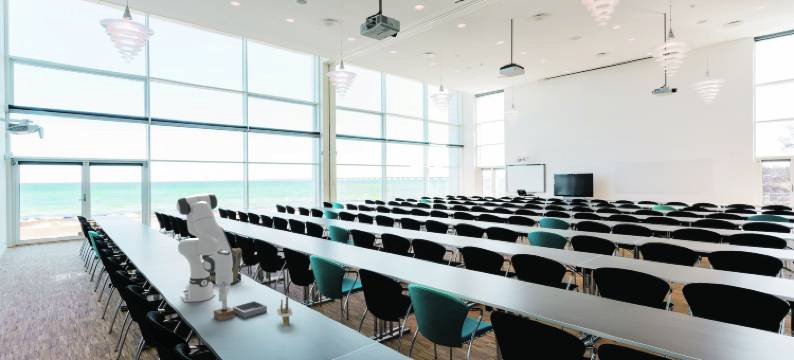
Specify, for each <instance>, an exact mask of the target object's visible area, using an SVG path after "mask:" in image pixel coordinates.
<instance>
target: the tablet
mask: <svg viewBox="0 0 794 360" xmlns="http://www.w3.org/2000/svg"><path fill="white" fill-rule="evenodd" d="M221 250H222V249H221ZM232 250H233V251H234V253H235V254H236V256H237V263H236V265H235V267H234V268H232V272H233V282H232V283H230V285H231V284H232V285H233V284H236V283H238V281H240V282H241V281H242V273H239V267H240V265H241V260H242V256H243V255H242V254H243V251H242V248H241V247H237V248H232ZM213 255H214V254H213ZM208 256H211V255H201V258H202V259H203V260H205V258H206V257H208ZM210 276H211V281H210V282H212V283H216V272H210Z"/></svg>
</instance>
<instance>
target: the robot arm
mask: <svg viewBox="0 0 794 360" xmlns="http://www.w3.org/2000/svg"><path fill="white" fill-rule="evenodd" d="M217 206H218V198H217V195H216V194H214V193H212V192H207V193H199V194H194V195H190V196H185V197H181V198H179V199H177V202H176V210H177V211H178V213H179V214H180V215H182V216H184V215H185V216H186V224H187V231H188V233H189V234H190V235H192V236H195V237H193V238H191V237H190V238H186V239H181V240H180V242H178V245H177V251H178V253H179V254H180V255H182V256H183V257H184V258H185V260H186V261H187V262H188V264H189V271H190V277H189V280H188V282H189V283H188V284H187V285H186V286H185V288H184V289H183V291H182V292H183V294H181V296H180V298H181V299H182V300H183V301H184V303H188V302H189V303H190V302H192V303H193V302H203V301H208V300H211V299H212V298H213V297H214V296H216V292H214V285H213V283H214V282H210V281H211V276H210V272H216V282H215V284H216V285H217V287H218V302H221V307H222V306H225V305H226V299H228V295H229V292H230V289H231V284H230V283H232V282H233V272H232V268H234V267H235V265H236V263H237V256H236V254H235V253H234V251H233V250H232V249H233V248H232V246H231V244H230V241H229V239H228V236H227V234H226V232H225V230H224V228H223V227H222V226H221V225H219V224H218V222H217V221H216V218H215V215H214V214H215V213H214V212H213V210H215V209H216V208H217ZM221 249H222V250H221ZM213 254H214V255H213ZM202 255H211V256H208V257H206V258H205V260H203V259H202Z"/></svg>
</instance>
